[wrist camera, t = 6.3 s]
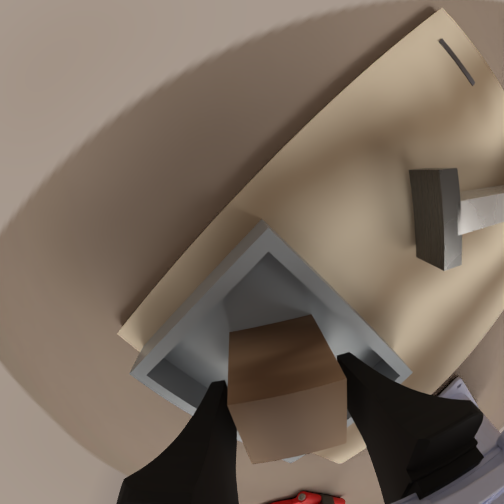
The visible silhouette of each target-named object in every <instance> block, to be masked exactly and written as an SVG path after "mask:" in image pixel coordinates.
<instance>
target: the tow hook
mask: <svg viewBox="0 0 504 504" xmlns="http://www.w3.org/2000/svg"><path fill="white" fill-rule="evenodd" d="M270 504H345V500H344V499H343V498H337V497H332V496H330V495H324V494H314V493H310V492H305V491H302V492H300V493H299V494H298V495H297V497H296V498H294V499H289V500H283V501H278V502H274V503H270Z"/></svg>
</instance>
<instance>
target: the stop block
mask: <svg viewBox="0 0 504 504" xmlns="http://www.w3.org/2000/svg"><path fill="white" fill-rule="evenodd" d="M227 406H228V408H229V411H230V413H231V416H232V418H233V421H234V423H235V426H236V428H237V430H238V433H239V435H240V437H241V440H242V442H243V444H244V447H245V449H246V451H247V454H248V456H249V458H250V460H251V462H252V464H258V463H264V462H270V461H276V460H281V459H286V458H291V457H296V456H301V455H305V454H309V453H313V452H317V451H321V450H325V449H328V448H332V447H335V446H339V445H342V444H345V443H346V441H347V378H346V376H345V375H344V373H343V371H342V369H341V367H340V365H339V363H338V361H337V360H336V358H335V356H334V354H333V352H332V350H331V349H330V347H329V345H328V343H327V341H326V339H325V338H324V336H323V334H322V332H321V330H320V328H319V327H318V325H317V323H316V321H315V319H314V318H313V316H312V314H310V315H306V316H302V317H298V318H294V319H290V320H285V321H281V322H277V323H272V324H267V325H263V326H258V327H253V328H248V329H244V330H238V331H233V332H229V357H228V395H227Z"/></svg>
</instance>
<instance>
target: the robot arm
mask: <svg viewBox="0 0 504 504" xmlns="http://www.w3.org/2000/svg"><path fill="white" fill-rule="evenodd" d="M337 361H338V363H339V365H340V367H341V369H342V371H343V373H344V375H345V376H346V378H347V410H348V412H349V413H350V415H351V417H352V419H353V421H354V423H355V425H356V426H357V428H358V430H359V432H360V434H361V436H362V438H363V440H364V442H365V444H366V447H367V449H368V452H369V455H370V457H371V460H372V463H373V466H374V469H375V472H376V475H377V478H378V481H379V485H380V488H381V491H382V495H383V499H384V502H385V504H504V431H503V432H502V433H500V432H499V431H498V430H497V429H496V427H495V426H494V425H493V424H492V423H491V422H490V421H489V419H488V418H487V417H486V416H485V415H484V414H483V413H482V412H481V411H480V409H479V408H478V406H477V404H476V402H475V400H474V399H473V397H472V395H471V394H470V392H469V390H468V389H467V387H466V385H465V384H464V382H463V380H462V379H461V378H460V377H457V378H456V379H454V380H453V382H452V383H451V384H450V385H449V386H448V387H447V388H446V389H445V390H444V391H443V392H442V393H441V394H440V395H439V396H433V395H429V394H426V393H422V392H419V391H416V390H413V389H411V388H408V387H406V386H403V385H401V384H399V383H397V382H395V381H393V380H391V379H389V378H387V377H386V376H384V375H382V374H381V373H379V372H378V371H376V370H374V369H373V368H371V367H370V366H368V365H367V364H366V363H364V362H363V361H361V360H360V359H359V358H357V357H356V356H354V355H353V354H352V353H350V352H347V353H344V354H340V355H337ZM227 395H228V387H227V384H226V381H225V380H221V381H214V382H211V384H210V386H209V388H208V390H207V392H206V394H205V396H204V397H203V399H202V401H201V403H200V405H199V406H198V408H197V410H196V411H195V413H194V415H193V416H192V418H191V419H190V421H189V422H188V424H187V425H186V426H185V428H184V429H183V430H182V432H181V433H180V434H179V435H178V437H177V438H176V439H175V440H174V441H173V442H172V443H171V444H170V445H169V446H168V447H167V448H166V449H165V450H164V451H163V452H162V453H161V454H160V455H159V456H158V457H157V458H155V459H154V460H153V461H152V462H150V463H149V464H147V465H146V466H145V467H143V468H142V469H140V470H139V471H137V472H135V473H134V474H132V475H130V476H129V477H127V478H125V479H124V481H123V483H122V486H121V489H120V493H119V496H118V500H117V504H239V502H238V493H237V482H236V447H237V428H236V426H235V423H234V421H233V418H232V416H231V413H230V411H229V408H228V406H227Z"/></svg>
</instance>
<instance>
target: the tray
mask: <svg viewBox="0 0 504 504" xmlns="http://www.w3.org/2000/svg"><path fill="white" fill-rule="evenodd" d="M310 314H312V316H313V318H314V319H315V321H316V323H317V325H318V327H319V328H320V330H321V332H322V334H323V336H324V338H325V339H326V341H327V343H328V345H329V347H330V349H331V350H332V352H333V354H334V356H335V358H336V360H337V355H340V354H344V353H347V352H350V353H352V354H353V355H354V356H356V357H357V358H359V359H360V360H361V361H363V362H364V363H366V364H367V365H368V366H370V367H371V368H373V369H374V370H376V371H378V372H379V373H381V374H382V375H384V376H386V377H387V378H389V379H391V380H393V381H395V382H397V383H399V384H401V383H402V382H403V381H404V380H405V379H407V378H408V377H409V376H410V375H411V374H412V373H413V372H412V371H411V370H410V368H409V367H408V366H407V365H406V364H405V363H404V361H403V360H402V359H401V358H400V357H399V356H398V354H397V353H396V352H395V351H394V350H393V349H392V348H391V347H390V345H389V344H388V343H387V342H386V341H385V340H384V339H383V338H382V337H381V336H380V335H379V334H378V333H377V332H376V331H375V330H374V329H373V328H372V327H371V326H370V325H369V324H368V323H367V322H366V321H365V320H364V319H363V318H362V317H361V316H360V314H359V313H358V312H357V311H356V310H355V309H354V308H353V307H352V306H351V305H350V304H349V303H348V302H347V301H346V300H345V299H344V298H343V297H342V296H341V295H340V294H339V293H338V292H337V291H336V290H335V289H334V288H333V287H332V286H331V285H330V284H329V283H328V282H327V281H326V280H325V279H324V278H323V277H322V276H321V275H320V274H319V273H318V272H317V271H315V270H314V269H313V268H312V267H311V266H310V265H309V264H308V263H307V262H306V261H305V260H304V259H303V258H302V257H301V256H300V255H299V254H298V253H297V252H296V251H295V250H294V249H293V248H292V247H291V246H290V245H289V244H288V243H287V242H286V241H285V240H284V239H282V238H281V237H280V236H279V235H278V234H277V233H276V232H275V231H274V230H273V229H272V228H271V227H270V226H269V225H268V224H267V223H266V222H265V221H263V220H262V219H261V220H260V221H259V222H258V224H257V225H256V226H255V227H254V228H253V229H252V230H251V231H250V232H249V233H248V234H247V235H246V236H245V237H244V238H243V239H242V240H241V241H240V242H239V244H238V245H237V246H236V247H235V248H234V249H233V250H232V251H231V252H230V253H229V254H228V255H227V256H226V257H225V258H224V259H223V261H222V262H221V263H220V264H219V265H218V266H217V267H216V268H215V269H214V270H213V271H212V272H211V273H210V274H209V275H208V277H207V278H206V279H205V280H204V281H203V282H202V283H201V284H200V285H199V286H198V287H197V288H196V289H195V290H194V292H193V293H192V294H191V295H190V296H189V297H188V298H187V299H186V300H185V301H184V302H183V303H182V305H181V306H180V307H179V308H178V309H177V310H176V311H175V312H174V313H173V314H172V315H171V316H170V318H169V319H168V320H167V321H166V322H165V323H164V324H163V325H162V326H161V327H160V328H159V330H158V331H157V332H156V333H155V334H154V335H153V336H152V337H151V338H150V339H149V341H148V342H147V343H146V344H145V345H144V346H143V348H142V350H141V352H140V354H139V356H138V358H137V360H136V362H135V364H134V366H133V368H132V370H131V372H130V375H132V376H133V377H134V378H136V379H137V380H138V381H140V382H141V383H143V384H144V385H145V386H147V387H148V388H150V389H151V390H153V391H154V392H156V393H157V394H158V395H160V396H161V397H163V398H165V399H166V400H168V401H169V402H171V403H172V404H174V405H175V406H177V407H179V408H180V409H182V410H184V411H185V412H187V413H189V414H190V415H192V416H193V415H194V413H195V411H196V410H197V408H198V406H199V405H200V403H201V401H202V399H203V397H204V396H205V394H206V392H207V390H208V388H209V386H210V384H211V382H214V381H221V380H225V381H226V384H227V387H228V357H229V332H233V331H238V330H244V329H248V328H253V327H258V326H263V325H267V324H272V323H277V322H281V321H285V320H290V319H294V318H298V317H302V316H306V315H310ZM352 423H354V421H353V419H352V417H351V415H350V413H349V412H348V410H347V427H348V426H350V425H351V424H352ZM237 440H238V441H241V442H242V440H241V437H240V435H239V433H238V430H237ZM305 455H306V454H305ZM303 456H304V455H301V456H296V457H291V458H286V459H281V460H284V461H287V462H289V463H292V462H294V461H296V460H297V459H299V458H301V457H303Z"/></svg>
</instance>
